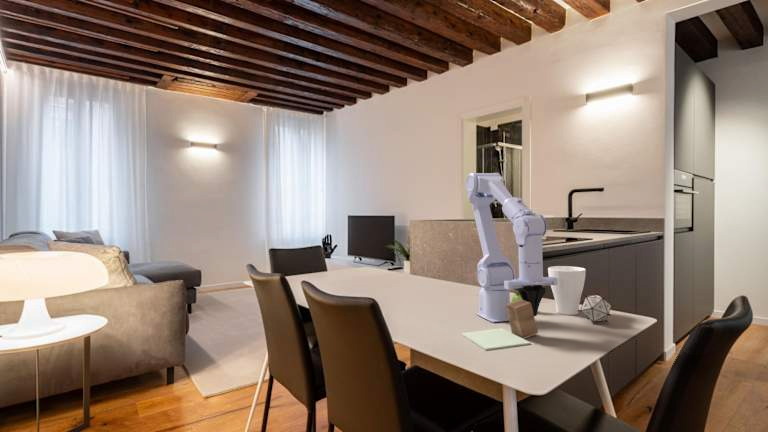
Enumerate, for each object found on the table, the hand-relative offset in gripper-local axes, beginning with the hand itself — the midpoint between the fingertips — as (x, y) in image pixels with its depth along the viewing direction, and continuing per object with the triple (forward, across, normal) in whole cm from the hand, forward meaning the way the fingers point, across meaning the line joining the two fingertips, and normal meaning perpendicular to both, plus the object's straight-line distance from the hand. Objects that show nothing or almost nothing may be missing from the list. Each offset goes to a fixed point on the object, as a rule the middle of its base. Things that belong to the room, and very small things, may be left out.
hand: (531, 315), depth 98 cm
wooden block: (+4, -2, 0) cm, 5 cm away
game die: (+5, +23, +3) cm, 24 cm away
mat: (+5, -11, 0) cm, 12 cm away
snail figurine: (+5, +12, +21) cm, 25 cm away
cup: (+5, +23, +14) cm, 27 cm away
